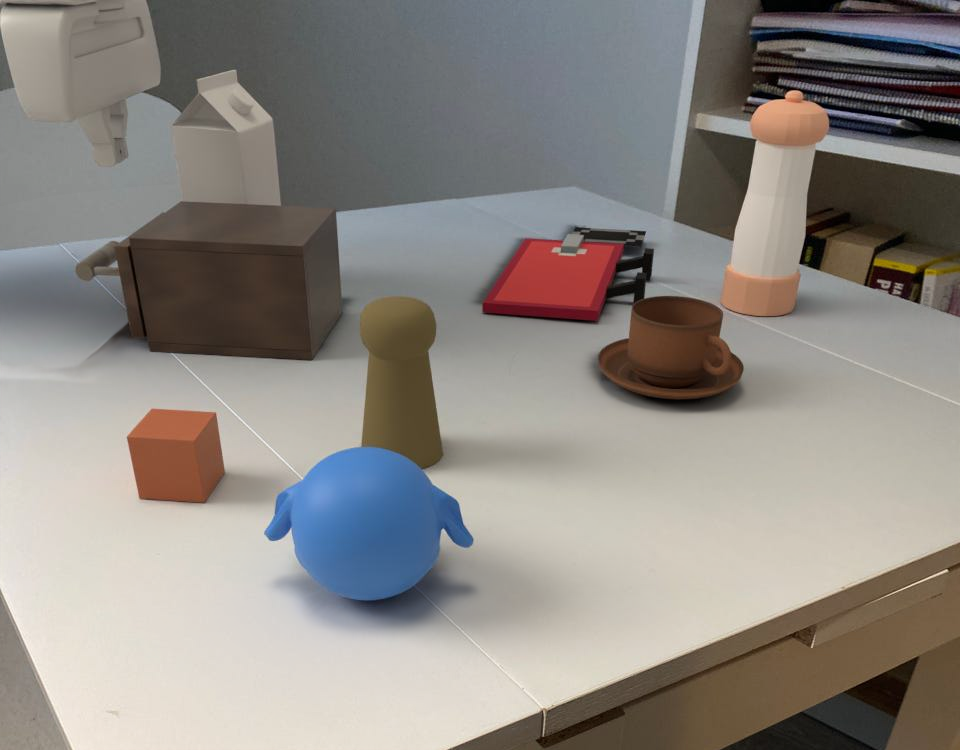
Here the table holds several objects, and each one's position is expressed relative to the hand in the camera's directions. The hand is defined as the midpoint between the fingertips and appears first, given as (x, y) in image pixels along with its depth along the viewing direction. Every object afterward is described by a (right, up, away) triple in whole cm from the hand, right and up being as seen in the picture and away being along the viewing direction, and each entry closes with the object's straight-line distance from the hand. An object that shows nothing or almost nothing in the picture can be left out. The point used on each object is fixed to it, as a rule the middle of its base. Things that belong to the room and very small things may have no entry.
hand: (112, 163), depth 86 cm
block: (+11, -30, -17) cm, 36 cm away
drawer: (+5, -11, +7) cm, 14 cm away
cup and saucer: (+47, -19, -1) cm, 51 cm away
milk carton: (+7, -3, +19) cm, 21 cm away
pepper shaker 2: (+59, -7, +16) cm, 62 cm away
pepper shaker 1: (+26, -27, -12) cm, 39 cm away
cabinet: (+10, -12, +8) cm, 17 cm away
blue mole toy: (+25, -37, -25) cm, 51 cm away
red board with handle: (+42, -1, +23) cm, 48 cm away
